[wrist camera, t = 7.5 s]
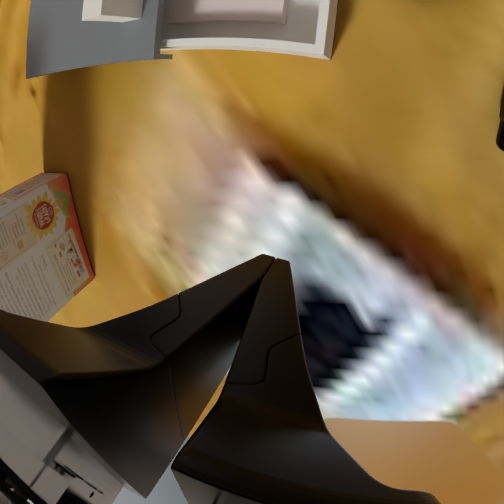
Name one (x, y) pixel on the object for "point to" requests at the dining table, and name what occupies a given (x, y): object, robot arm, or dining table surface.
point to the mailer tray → (251, 26)
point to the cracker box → (40, 248)
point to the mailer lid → (92, 33)
